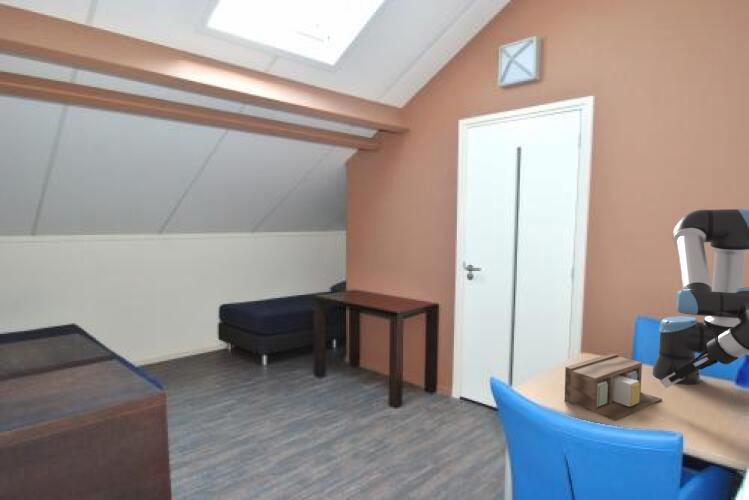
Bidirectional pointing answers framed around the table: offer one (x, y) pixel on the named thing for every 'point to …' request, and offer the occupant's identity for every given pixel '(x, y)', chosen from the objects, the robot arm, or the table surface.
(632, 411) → the brown boxy piece
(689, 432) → the table surface
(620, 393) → the mustard key
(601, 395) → the sage key
